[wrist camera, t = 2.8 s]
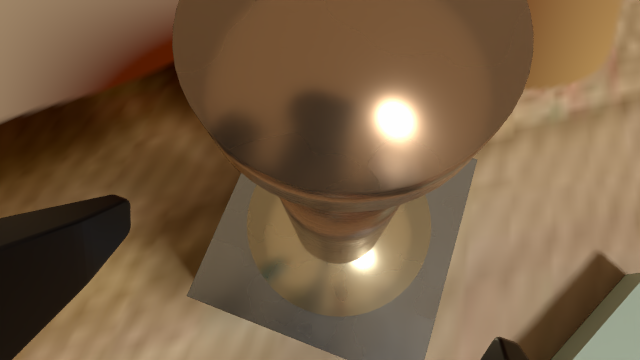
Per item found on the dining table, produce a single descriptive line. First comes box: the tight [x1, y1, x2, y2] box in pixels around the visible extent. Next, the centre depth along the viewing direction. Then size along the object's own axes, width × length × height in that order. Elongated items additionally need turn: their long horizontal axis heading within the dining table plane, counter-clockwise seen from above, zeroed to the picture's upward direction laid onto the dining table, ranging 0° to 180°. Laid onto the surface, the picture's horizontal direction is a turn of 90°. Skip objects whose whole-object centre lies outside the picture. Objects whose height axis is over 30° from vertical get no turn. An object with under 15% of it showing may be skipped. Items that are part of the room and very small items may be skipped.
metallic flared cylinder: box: [172, 0, 533, 317], centre depth 13 cm, size 8×8×16 cm
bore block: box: [187, 158, 477, 360], centre depth 19 cm, size 10×10×3 cm
